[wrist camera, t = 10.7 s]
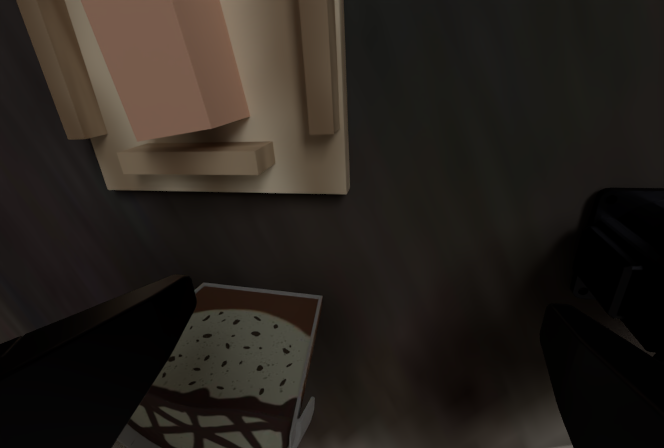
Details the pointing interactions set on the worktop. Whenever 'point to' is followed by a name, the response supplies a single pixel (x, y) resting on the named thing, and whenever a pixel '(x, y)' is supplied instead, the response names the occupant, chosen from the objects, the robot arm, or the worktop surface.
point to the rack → (227, 140)
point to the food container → (233, 374)
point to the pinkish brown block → (169, 64)
